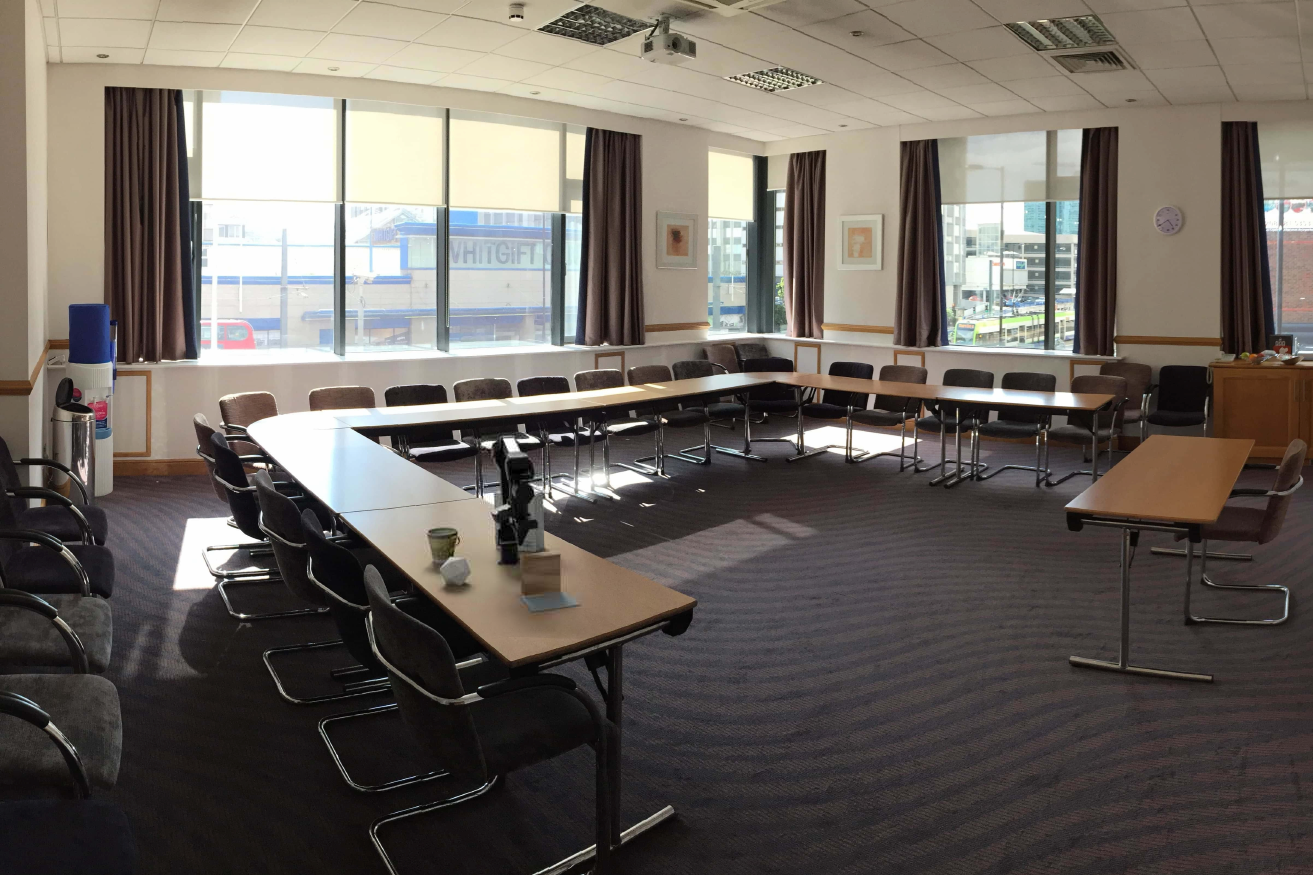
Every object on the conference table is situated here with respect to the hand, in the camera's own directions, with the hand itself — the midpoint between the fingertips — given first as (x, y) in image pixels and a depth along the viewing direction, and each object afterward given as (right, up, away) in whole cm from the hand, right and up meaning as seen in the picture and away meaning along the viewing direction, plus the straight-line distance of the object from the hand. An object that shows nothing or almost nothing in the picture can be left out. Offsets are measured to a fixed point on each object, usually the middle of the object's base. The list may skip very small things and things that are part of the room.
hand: (519, 545), depth 287 cm
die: (-19, -11, -1) cm, 23 cm away
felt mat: (+11, -14, -18) cm, 26 cm away
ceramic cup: (-27, -8, +21) cm, 35 cm away
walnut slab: (+8, -13, -11) cm, 19 cm away
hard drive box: (-5, -5, +37) cm, 38 cm away
